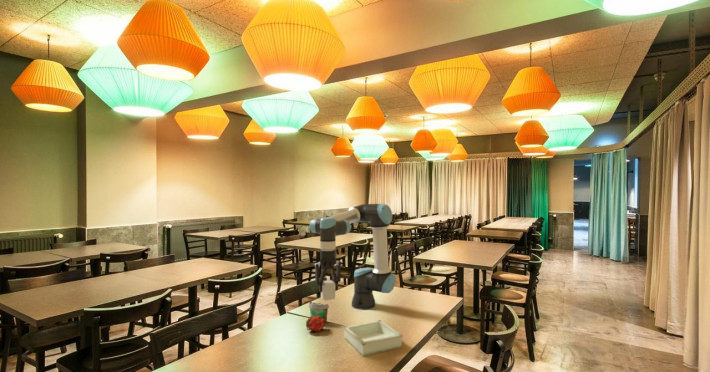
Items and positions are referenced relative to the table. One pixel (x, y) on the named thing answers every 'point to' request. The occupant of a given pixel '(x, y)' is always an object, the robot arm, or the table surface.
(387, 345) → the bin
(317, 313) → the food container
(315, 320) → the dragon fruit
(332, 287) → the stone block
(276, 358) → the table surface
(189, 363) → the table surface
